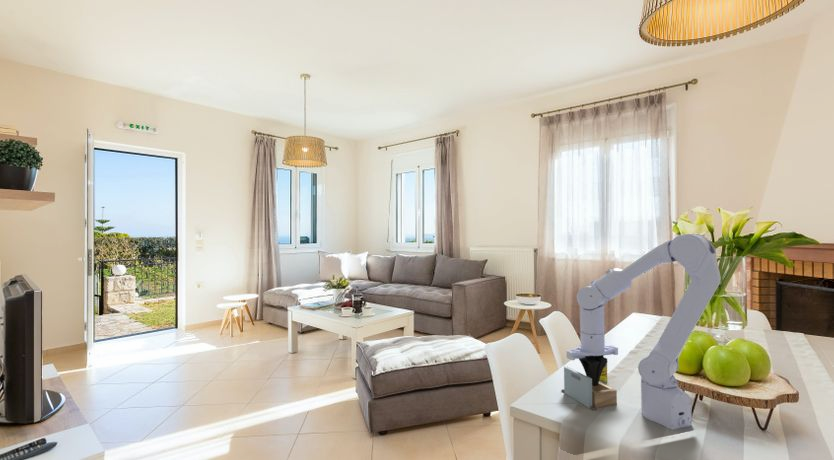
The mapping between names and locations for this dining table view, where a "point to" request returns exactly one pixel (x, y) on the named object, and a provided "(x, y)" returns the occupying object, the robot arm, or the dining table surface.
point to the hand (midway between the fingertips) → (593, 384)
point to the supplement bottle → (603, 374)
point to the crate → (602, 396)
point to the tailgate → (578, 386)
